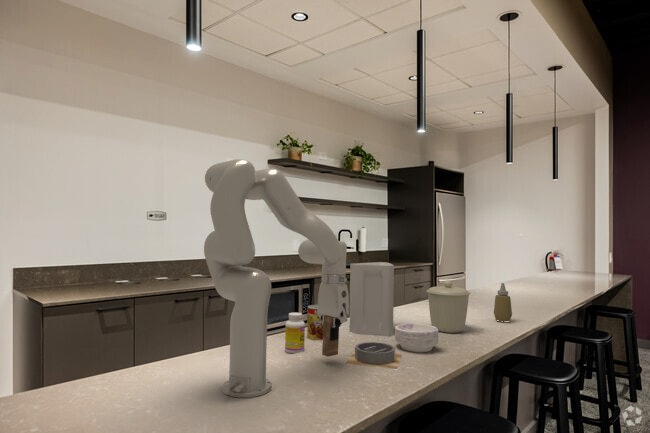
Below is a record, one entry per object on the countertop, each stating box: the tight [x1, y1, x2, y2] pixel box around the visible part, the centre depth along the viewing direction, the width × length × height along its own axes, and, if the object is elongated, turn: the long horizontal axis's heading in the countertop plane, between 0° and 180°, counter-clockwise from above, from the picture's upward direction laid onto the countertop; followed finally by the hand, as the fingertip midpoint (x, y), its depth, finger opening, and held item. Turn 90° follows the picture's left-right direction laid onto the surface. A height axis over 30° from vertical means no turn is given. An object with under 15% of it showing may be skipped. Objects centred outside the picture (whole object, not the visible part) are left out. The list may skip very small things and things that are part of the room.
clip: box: [363, 346, 387, 353], centre depth 136 cm, size 5×6×3 cm
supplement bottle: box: [284, 312, 306, 354], centre depth 145 cm, size 7×7×13 cm
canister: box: [425, 280, 471, 334], centre depth 179 cm, size 18×18×21 cm
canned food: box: [306, 304, 323, 341], centre depth 164 cm, size 8×8×12 cm
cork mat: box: [345, 350, 403, 370], centre depth 136 cm, size 16×16×1 cm
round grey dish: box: [354, 341, 396, 365], centre depth 136 cm, size 13×13×4 cm
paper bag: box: [349, 261, 395, 337], centre depth 174 cm, size 19×15×28 cm
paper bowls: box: [394, 323, 440, 353], centre depth 149 cm, size 15×15×8 cm
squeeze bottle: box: [493, 282, 513, 322], centre depth 198 cm, size 8×8×18 cm
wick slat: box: [321, 316, 340, 358], centre depth 131 cm, size 2×4×12 cm, turn 134°
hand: (330, 338), depth 131 cm, fingers closed on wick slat, 2 cm apart
